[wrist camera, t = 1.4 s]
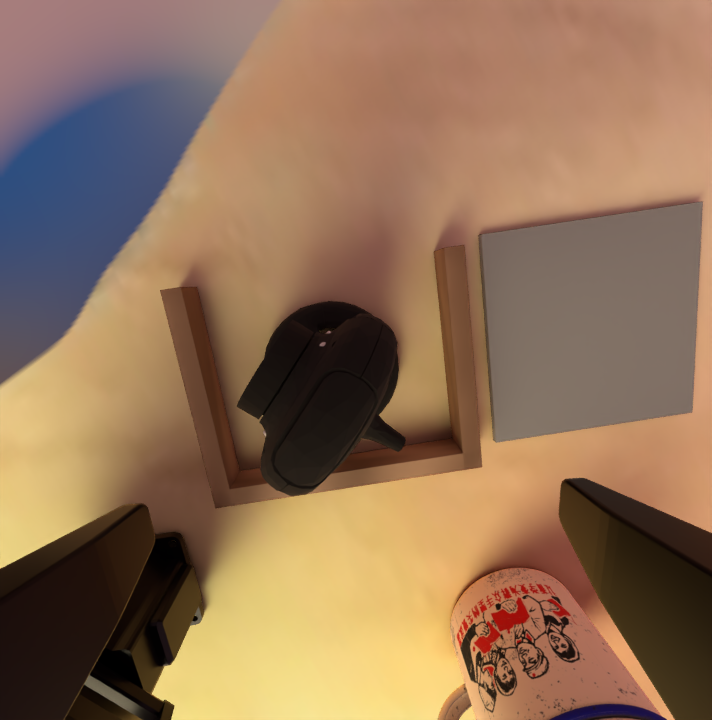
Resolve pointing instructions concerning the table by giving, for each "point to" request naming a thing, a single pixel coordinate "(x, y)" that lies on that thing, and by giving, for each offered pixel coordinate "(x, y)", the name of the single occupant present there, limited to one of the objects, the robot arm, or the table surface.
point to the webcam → (322, 393)
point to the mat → (591, 320)
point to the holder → (358, 467)
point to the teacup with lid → (536, 656)
